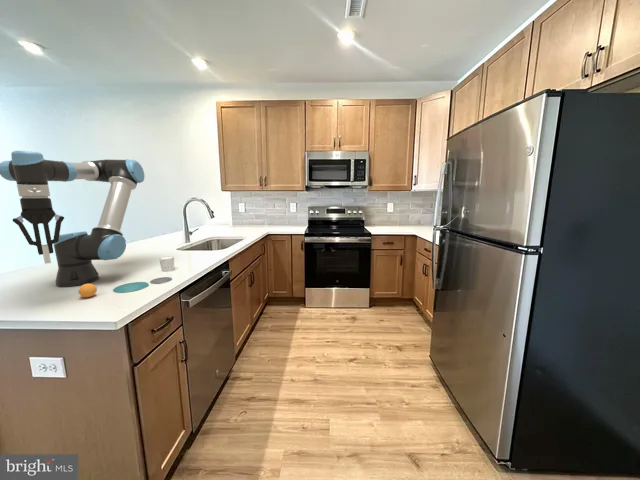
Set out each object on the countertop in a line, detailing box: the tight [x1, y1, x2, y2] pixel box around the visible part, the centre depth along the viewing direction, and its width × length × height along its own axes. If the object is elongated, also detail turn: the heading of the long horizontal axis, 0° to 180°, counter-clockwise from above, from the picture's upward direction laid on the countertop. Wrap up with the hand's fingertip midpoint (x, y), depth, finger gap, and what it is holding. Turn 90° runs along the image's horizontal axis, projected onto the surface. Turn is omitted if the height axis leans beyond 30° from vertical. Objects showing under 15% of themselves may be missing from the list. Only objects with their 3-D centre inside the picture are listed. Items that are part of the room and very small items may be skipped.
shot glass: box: [158, 256, 175, 273], centre depth 143 cm, size 7×7×7 cm
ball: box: [78, 283, 98, 298], centre depth 107 cm, size 6×6×6 cm
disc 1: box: [112, 281, 149, 294], centre depth 118 cm, size 13×13×1 cm
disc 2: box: [149, 276, 173, 285], centre depth 127 cm, size 9×9×1 cm
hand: (47, 262), depth 97 cm, fingers closed
